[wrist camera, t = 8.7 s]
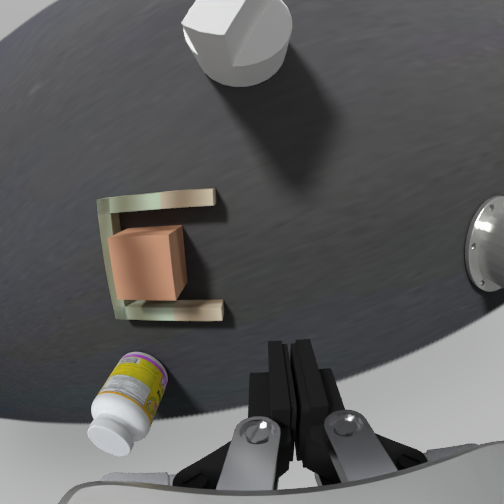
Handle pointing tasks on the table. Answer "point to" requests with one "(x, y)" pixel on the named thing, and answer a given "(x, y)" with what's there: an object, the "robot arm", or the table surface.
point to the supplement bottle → (127, 403)
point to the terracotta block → (148, 263)
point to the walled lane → (111, 226)
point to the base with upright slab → (238, 38)
